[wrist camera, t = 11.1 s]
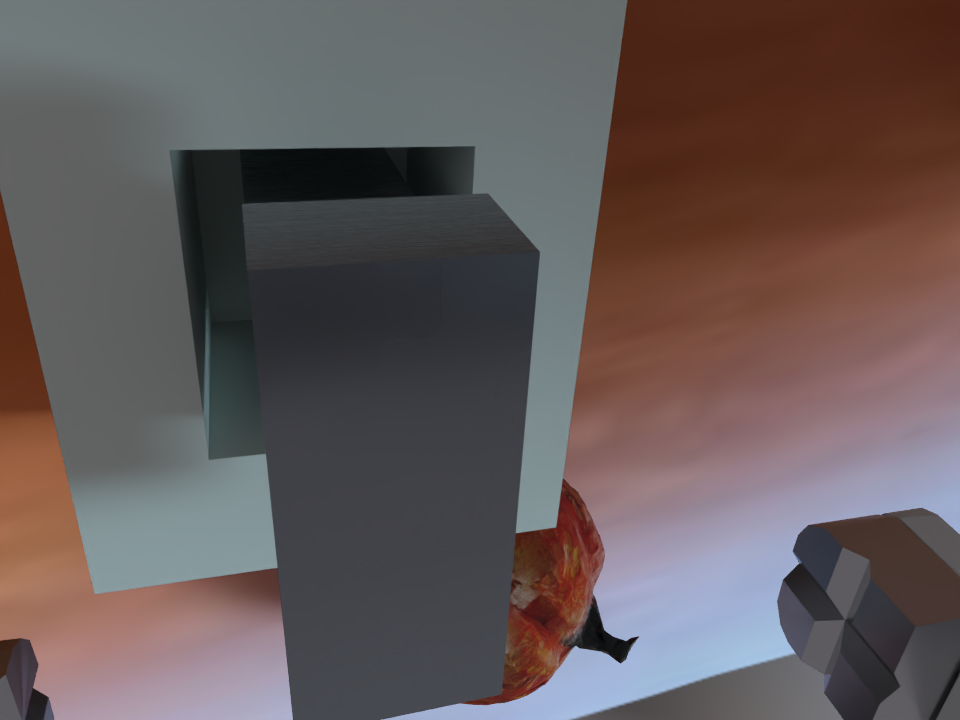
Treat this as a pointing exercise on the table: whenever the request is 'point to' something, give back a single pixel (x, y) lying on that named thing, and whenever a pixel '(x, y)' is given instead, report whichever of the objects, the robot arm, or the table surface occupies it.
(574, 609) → the pomegranate
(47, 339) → the well block
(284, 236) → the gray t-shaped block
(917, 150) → the table surface
